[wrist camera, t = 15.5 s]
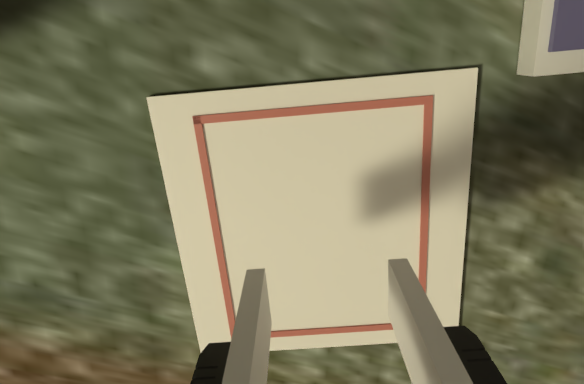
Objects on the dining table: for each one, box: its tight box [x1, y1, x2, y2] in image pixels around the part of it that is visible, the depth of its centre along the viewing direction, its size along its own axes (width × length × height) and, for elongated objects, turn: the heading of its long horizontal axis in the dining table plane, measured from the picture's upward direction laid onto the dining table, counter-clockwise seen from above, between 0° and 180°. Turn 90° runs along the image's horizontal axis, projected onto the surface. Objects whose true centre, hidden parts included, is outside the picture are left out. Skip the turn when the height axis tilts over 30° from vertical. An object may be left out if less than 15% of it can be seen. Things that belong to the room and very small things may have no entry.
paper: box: [146, 67, 478, 352], centre depth 22 cm, size 16×16×1 cm
